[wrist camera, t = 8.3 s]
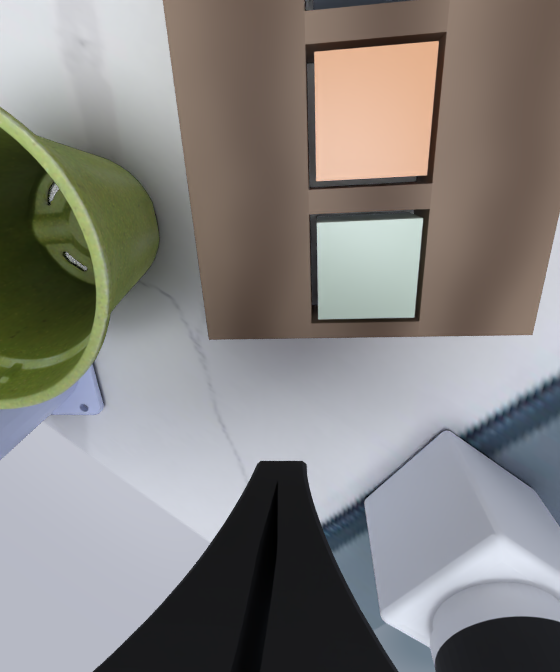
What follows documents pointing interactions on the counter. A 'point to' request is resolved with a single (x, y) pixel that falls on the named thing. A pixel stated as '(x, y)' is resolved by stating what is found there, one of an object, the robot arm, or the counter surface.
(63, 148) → the plant pot
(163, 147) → the counter surface
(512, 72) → the button panel
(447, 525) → the medicine bottle
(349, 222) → the button sage
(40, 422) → the robot arm
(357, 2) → the button slate
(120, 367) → the counter surface
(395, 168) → the button terracotta
